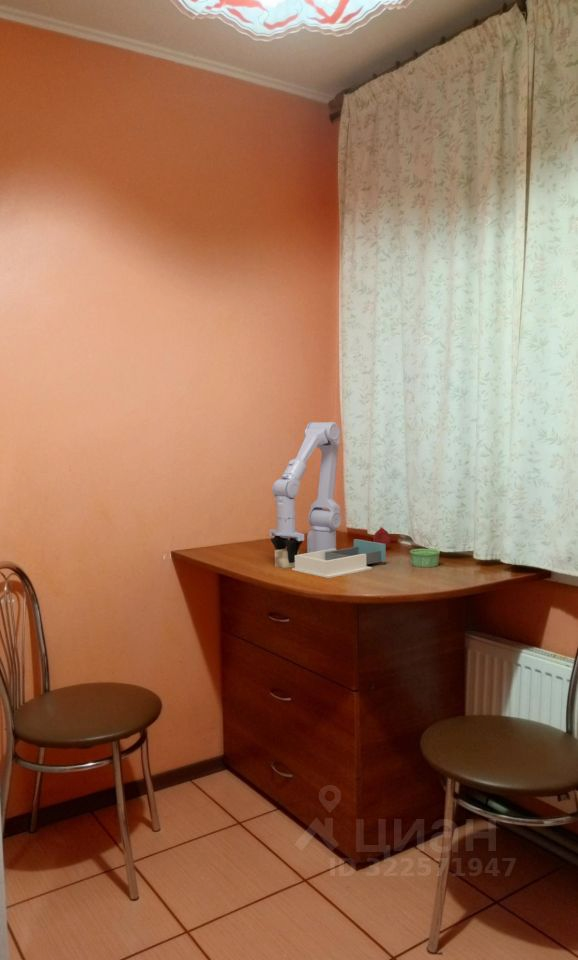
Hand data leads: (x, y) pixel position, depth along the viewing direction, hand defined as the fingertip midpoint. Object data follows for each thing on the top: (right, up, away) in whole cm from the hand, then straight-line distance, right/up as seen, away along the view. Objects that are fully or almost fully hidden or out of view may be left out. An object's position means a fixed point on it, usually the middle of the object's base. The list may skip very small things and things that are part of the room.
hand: (286, 561), depth 232 cm
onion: (+33, +1, +25) cm, 41 cm away
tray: (+21, 0, -1) cm, 21 cm away
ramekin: (+42, -1, -2) cm, 42 cm away
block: (0, -1, 0) cm, 1 cm away
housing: (+14, -2, -7) cm, 15 cm away
